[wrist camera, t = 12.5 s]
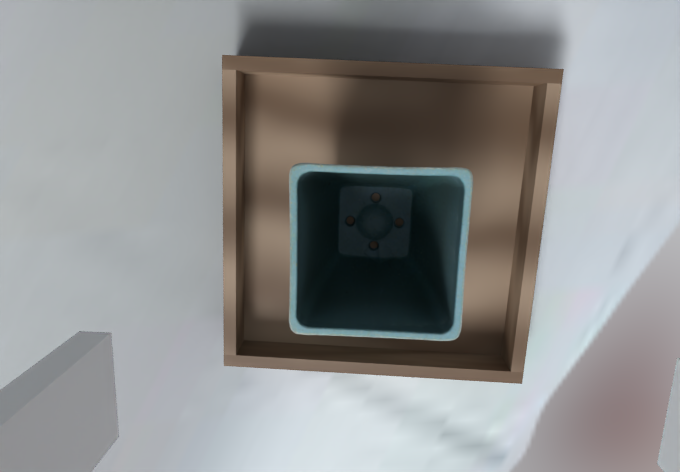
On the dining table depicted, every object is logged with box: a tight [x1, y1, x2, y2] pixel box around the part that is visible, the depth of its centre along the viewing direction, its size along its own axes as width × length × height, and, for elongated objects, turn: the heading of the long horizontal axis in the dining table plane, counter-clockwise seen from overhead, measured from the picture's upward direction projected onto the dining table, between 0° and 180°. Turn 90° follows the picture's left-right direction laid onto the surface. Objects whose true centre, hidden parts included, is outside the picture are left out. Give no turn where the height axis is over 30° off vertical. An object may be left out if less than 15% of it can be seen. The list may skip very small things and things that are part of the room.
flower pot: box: [289, 163, 473, 341], centre depth 29 cm, size 9×9×9 cm
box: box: [222, 55, 564, 384], centre depth 33 cm, size 20×20×3 cm
